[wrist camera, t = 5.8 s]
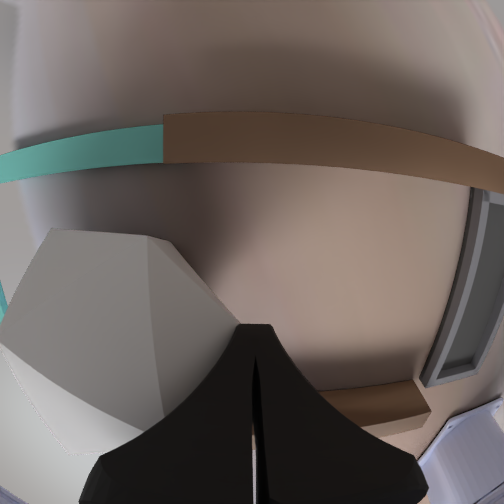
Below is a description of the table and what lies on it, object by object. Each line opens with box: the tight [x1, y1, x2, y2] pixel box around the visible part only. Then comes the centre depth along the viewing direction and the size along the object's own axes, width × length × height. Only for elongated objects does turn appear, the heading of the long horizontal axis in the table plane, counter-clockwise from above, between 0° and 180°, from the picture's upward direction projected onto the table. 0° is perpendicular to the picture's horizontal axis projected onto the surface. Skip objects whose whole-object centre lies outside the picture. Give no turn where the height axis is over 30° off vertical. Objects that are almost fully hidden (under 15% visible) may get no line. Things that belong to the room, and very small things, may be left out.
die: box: [0, 228, 241, 455], centre depth 9 cm, size 8×9×10 cm
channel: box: [163, 112, 504, 450], centre depth 11 cm, size 15×13×3 cm
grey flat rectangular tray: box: [419, 187, 504, 388], centre depth 12 cm, size 12×5×1 cm, turn 179°
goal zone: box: [0, 124, 163, 324], centre depth 12 cm, size 15×14×1 cm
